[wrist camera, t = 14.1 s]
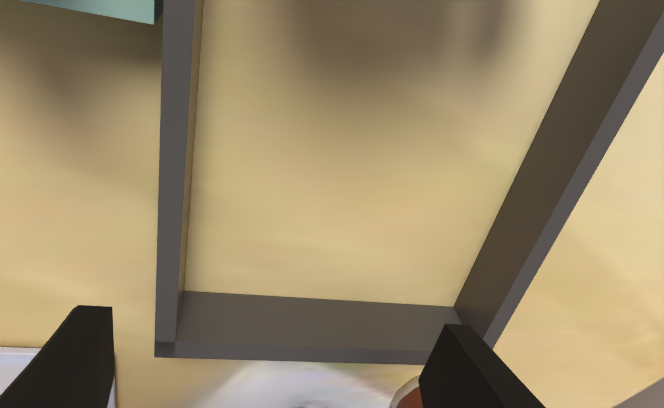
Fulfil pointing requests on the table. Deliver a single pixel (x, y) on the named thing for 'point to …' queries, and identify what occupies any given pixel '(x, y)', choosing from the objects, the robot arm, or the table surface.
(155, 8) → the square box
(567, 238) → the table surface
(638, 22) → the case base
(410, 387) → the coffee cup
